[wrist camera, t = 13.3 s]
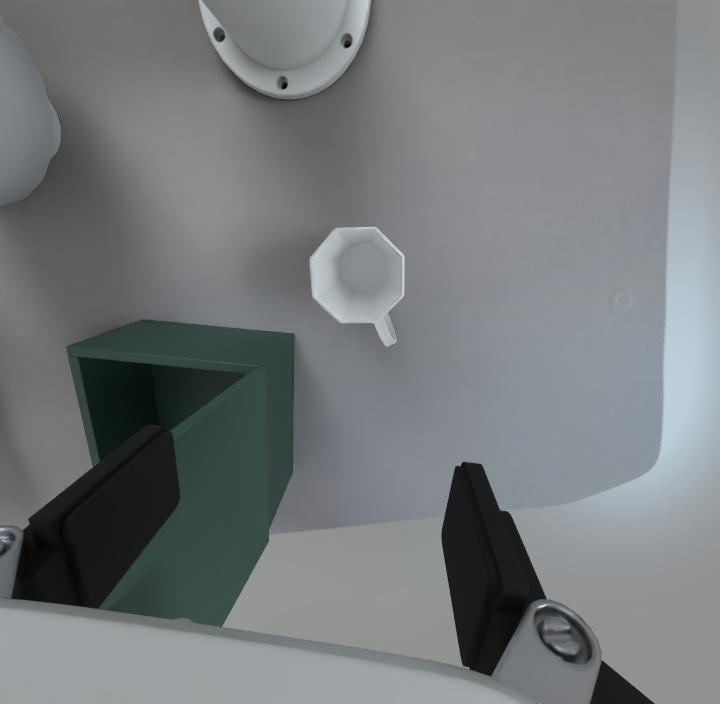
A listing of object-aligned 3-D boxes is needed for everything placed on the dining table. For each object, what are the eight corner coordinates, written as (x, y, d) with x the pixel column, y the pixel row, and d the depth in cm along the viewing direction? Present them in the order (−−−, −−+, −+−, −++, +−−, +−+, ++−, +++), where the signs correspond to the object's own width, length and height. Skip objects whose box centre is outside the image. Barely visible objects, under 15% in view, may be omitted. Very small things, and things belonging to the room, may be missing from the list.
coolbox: (162, 456, 40) (103, 514, 32) (143, 319, 35) (65, 346, 26) (292, 472, 39) (266, 535, 31) (294, 333, 34) (262, 366, 26)
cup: (385, 211, 30) (384, 203, 22) (427, 316, 32) (438, 341, 25) (314, 246, 31) (289, 250, 23) (359, 343, 34) (349, 375, 26)
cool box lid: (90, 835, 16) (186, 878, 15) (-18, 566, 10) (127, 611, 9) (260, 538, 31) (313, 551, 30) (255, 367, 25) (319, 377, 24)
